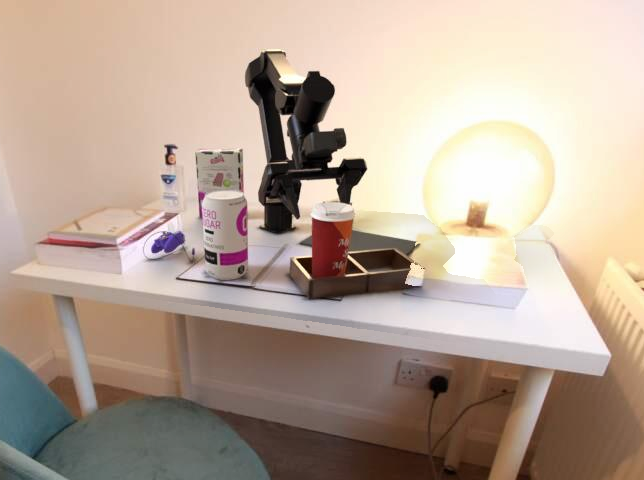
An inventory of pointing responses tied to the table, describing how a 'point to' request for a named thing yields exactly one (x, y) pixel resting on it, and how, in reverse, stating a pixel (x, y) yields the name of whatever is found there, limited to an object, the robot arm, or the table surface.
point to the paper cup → (331, 238)
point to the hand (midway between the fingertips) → (322, 216)
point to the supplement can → (225, 234)
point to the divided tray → (354, 274)
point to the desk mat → (373, 242)
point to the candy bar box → (218, 171)
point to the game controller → (168, 243)
